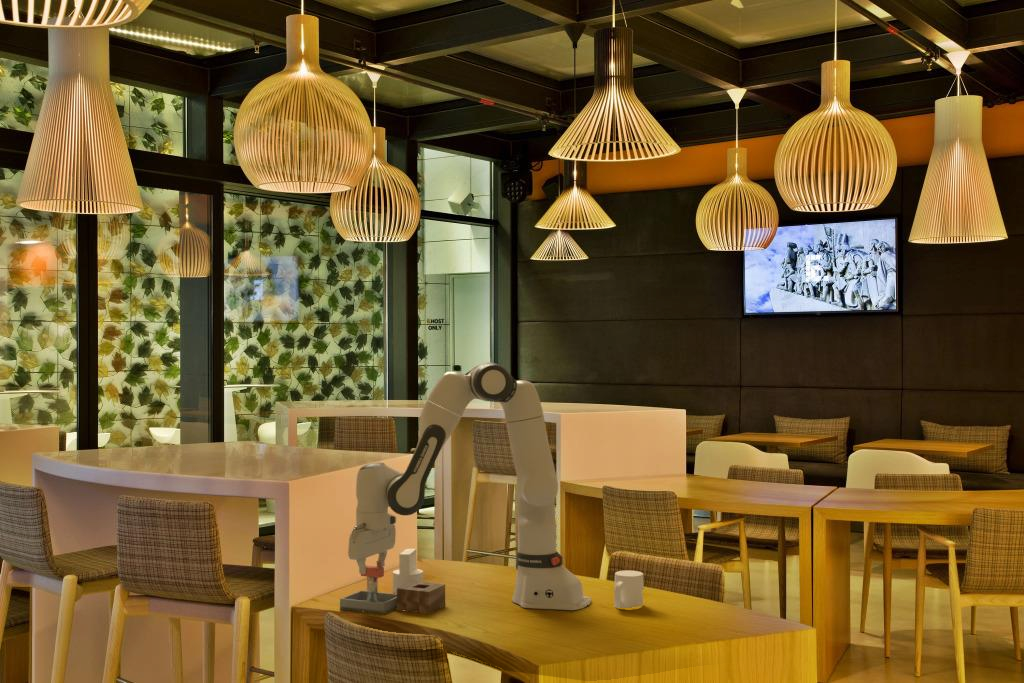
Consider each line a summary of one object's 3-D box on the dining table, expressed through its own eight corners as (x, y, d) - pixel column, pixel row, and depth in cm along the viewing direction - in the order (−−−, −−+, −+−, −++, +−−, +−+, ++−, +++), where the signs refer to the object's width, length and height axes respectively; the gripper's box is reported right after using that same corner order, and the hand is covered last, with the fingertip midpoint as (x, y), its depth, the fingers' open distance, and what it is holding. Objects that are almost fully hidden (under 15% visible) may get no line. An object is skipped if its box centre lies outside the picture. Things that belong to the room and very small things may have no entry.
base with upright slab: (418, 595, 310) (418, 554, 310) (389, 594, 311) (389, 553, 311) (426, 588, 319) (426, 549, 319) (397, 587, 320) (397, 548, 320)
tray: (403, 605, 298) (403, 594, 298) (383, 614, 288) (383, 603, 288) (360, 600, 304) (360, 590, 304) (340, 609, 293) (340, 598, 293)
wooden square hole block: (445, 605, 298) (445, 584, 298) (428, 613, 289) (428, 591, 289) (414, 602, 302) (414, 581, 302) (396, 610, 293) (396, 588, 293)
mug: (624, 568, 303) (649, 572, 299) (624, 601, 303) (649, 605, 298) (604, 576, 293) (629, 579, 289) (604, 609, 293) (629, 613, 289)
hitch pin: (384, 604, 296) (384, 567, 296) (378, 606, 293) (379, 569, 293) (365, 602, 298) (365, 565, 298) (360, 604, 296) (360, 567, 296)
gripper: (362, 527, 285) (362, 578, 285) (399, 516, 304) (399, 564, 304) (342, 526, 288) (342, 576, 287) (380, 515, 306) (380, 562, 306)
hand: (372, 570), depth 296 cm, fingers open, 8 cm apart
